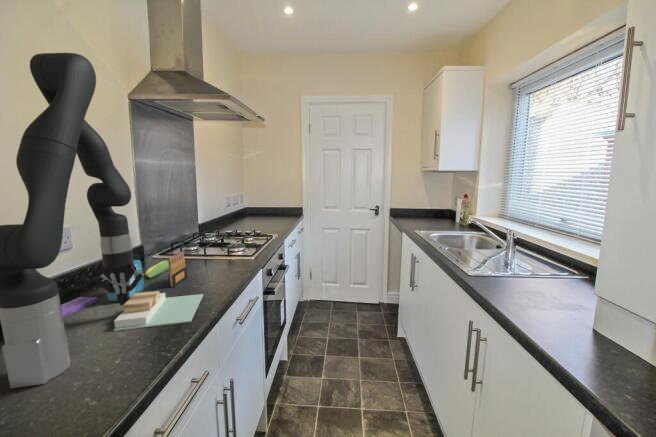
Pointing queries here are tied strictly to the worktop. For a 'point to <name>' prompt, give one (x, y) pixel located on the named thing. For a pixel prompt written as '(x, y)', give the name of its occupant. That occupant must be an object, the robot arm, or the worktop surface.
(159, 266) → the edible corn
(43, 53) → the robot arm
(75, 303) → the sponges
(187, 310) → the mat
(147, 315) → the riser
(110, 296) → the data package
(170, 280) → the ammunition clip
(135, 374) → the worktop surface
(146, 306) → the coaster
